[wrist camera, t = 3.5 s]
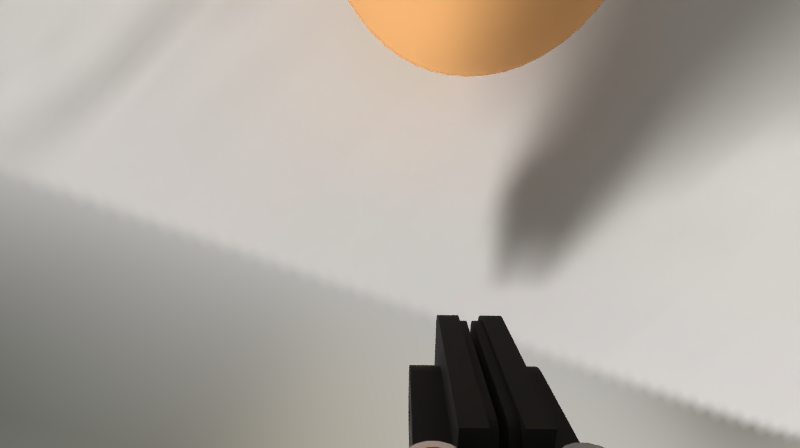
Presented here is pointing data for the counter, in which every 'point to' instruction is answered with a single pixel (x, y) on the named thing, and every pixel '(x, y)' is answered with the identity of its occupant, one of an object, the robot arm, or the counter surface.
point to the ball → (473, 31)
